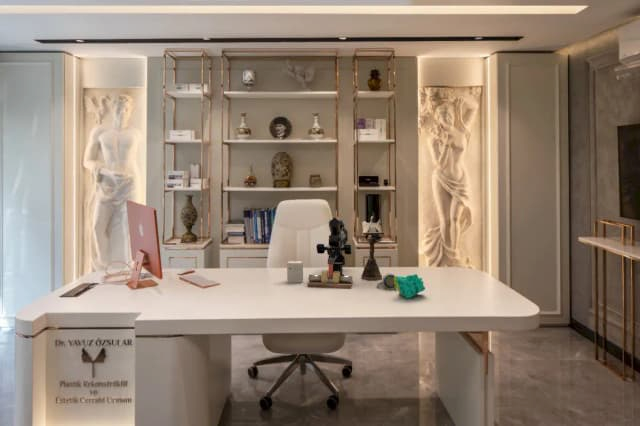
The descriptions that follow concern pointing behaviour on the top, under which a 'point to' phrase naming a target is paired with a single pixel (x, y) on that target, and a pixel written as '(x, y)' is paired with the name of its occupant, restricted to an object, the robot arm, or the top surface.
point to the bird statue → (372, 250)
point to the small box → (295, 271)
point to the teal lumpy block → (409, 285)
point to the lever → (330, 268)
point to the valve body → (336, 278)
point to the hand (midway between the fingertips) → (332, 261)
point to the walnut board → (330, 284)
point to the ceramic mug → (387, 281)
